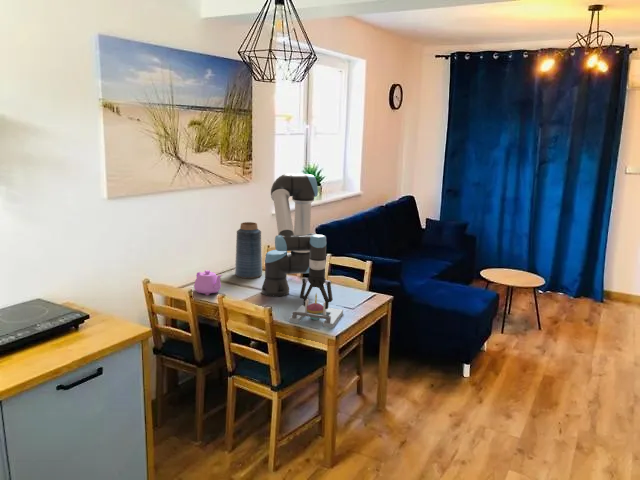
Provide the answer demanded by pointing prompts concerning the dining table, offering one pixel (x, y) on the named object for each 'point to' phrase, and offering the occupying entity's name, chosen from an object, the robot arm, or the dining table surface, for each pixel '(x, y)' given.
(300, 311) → the grey handled tray
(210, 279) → the teapot
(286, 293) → the robot arm
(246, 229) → the blue thread spool
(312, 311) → the cupcake
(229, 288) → the dining table surface
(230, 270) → the dining table surface
